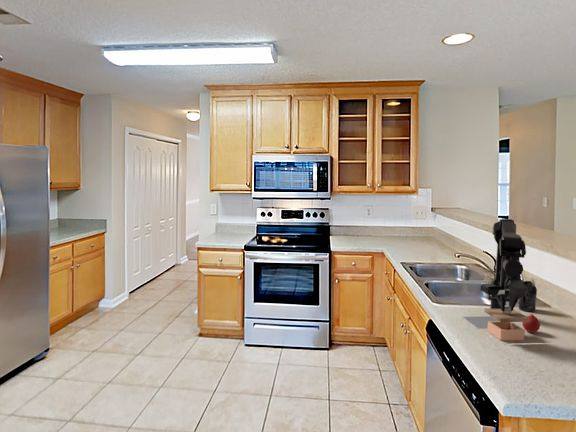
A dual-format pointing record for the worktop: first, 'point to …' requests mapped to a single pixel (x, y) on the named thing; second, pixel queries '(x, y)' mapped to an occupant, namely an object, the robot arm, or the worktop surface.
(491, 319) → the rubber mat
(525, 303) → the supplement bottle
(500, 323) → the terracotta dish
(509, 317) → the walnut lid
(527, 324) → the onion
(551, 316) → the worktop surface
